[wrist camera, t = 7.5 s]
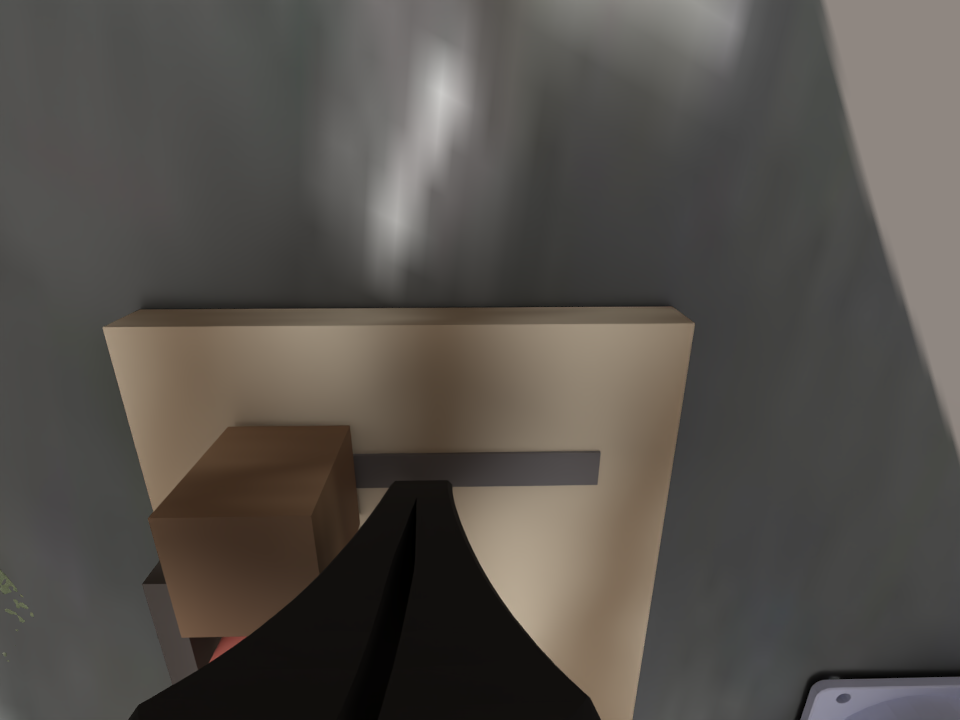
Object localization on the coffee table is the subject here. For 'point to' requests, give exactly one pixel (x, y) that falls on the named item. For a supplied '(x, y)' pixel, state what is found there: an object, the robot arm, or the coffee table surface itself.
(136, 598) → the coffee table surface
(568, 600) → the control panel
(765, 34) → the coffee table surface
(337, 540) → the walnut slider
